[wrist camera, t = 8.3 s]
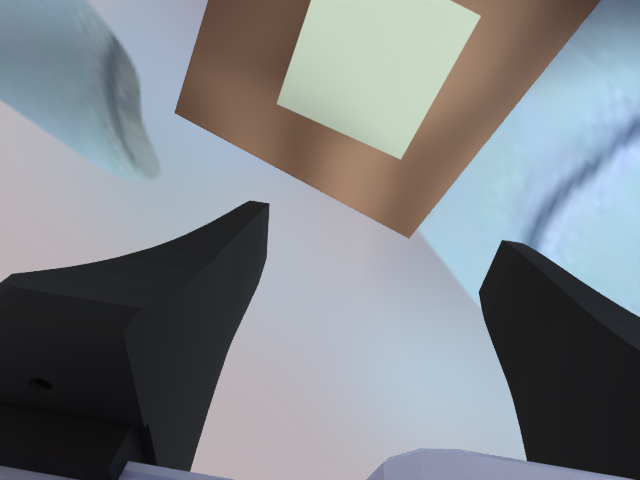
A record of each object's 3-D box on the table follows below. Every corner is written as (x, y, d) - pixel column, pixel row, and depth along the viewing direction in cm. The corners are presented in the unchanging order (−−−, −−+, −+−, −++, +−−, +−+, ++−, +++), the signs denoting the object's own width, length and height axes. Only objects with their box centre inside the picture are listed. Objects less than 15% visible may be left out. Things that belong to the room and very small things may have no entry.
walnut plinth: (599, -30, 16) (627, -35, 14) (405, 221, 23) (408, 238, 21) (304, -253, 13) (295, -291, 12) (190, 104, 20) (174, 112, 19)
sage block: (443, 14, 15) (481, 16, 10) (390, 117, 18) (400, 159, 13) (343, -36, 15) (331, -61, 10) (303, 76, 17) (276, 103, 12)
